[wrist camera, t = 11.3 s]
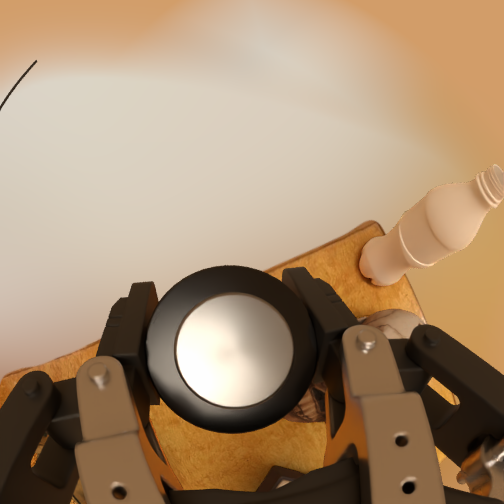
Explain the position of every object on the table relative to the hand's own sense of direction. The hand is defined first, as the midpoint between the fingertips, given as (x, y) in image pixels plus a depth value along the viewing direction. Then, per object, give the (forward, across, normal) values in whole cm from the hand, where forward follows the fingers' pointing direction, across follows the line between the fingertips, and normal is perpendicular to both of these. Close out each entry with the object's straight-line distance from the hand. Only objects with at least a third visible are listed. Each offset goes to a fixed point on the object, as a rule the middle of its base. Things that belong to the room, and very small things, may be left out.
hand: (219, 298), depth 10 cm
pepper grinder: (+2, 0, +4) cm, 5 cm away
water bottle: (+21, -24, +13) cm, 34 cm away
